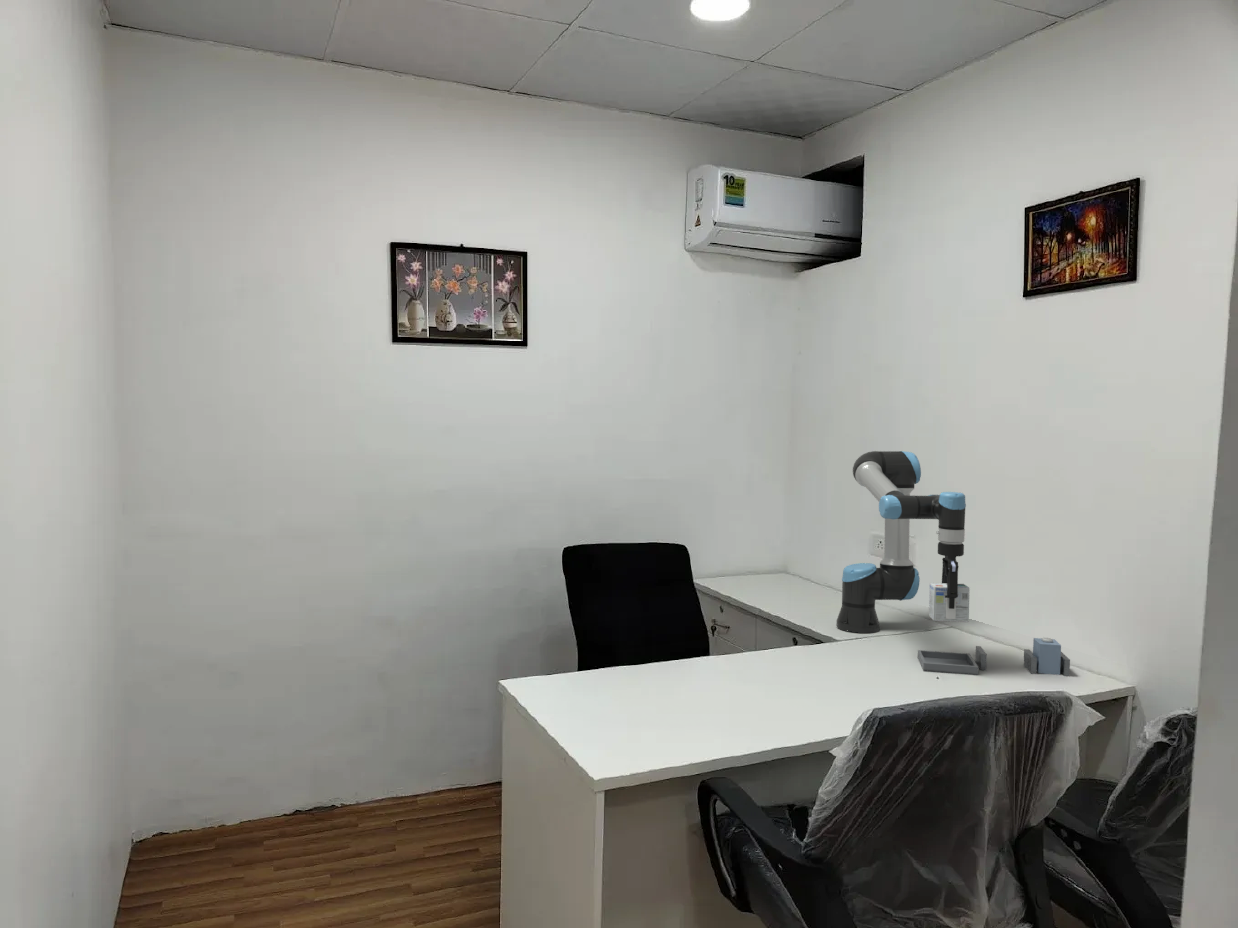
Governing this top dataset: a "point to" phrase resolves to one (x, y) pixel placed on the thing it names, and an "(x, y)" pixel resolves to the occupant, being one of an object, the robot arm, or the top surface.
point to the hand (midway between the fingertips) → (948, 615)
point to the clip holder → (1029, 661)
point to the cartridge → (1047, 655)
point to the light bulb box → (939, 602)
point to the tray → (947, 662)
